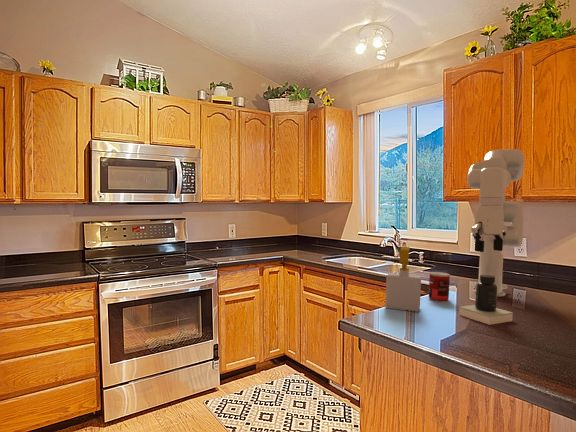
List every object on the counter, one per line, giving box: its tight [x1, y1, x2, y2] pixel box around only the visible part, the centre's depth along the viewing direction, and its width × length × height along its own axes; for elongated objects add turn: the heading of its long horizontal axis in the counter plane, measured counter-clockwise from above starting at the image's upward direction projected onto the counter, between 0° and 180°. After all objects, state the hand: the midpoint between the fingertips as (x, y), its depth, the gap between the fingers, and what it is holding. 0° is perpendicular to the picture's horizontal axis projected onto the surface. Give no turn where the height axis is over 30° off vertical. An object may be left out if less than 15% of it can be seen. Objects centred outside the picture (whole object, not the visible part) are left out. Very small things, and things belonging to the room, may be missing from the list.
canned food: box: [428, 271, 451, 302], centre depth 162 cm, size 8×8×11 cm
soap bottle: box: [385, 246, 422, 313], centre depth 145 cm, size 12×7×23 cm, turn 68°
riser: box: [458, 304, 514, 325], centre depth 136 cm, size 12×12×3 cm
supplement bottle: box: [474, 275, 498, 312], centre depth 136 cm, size 7×7×12 cm
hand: (488, 251), depth 136 cm, fingers open, 9 cm apart
